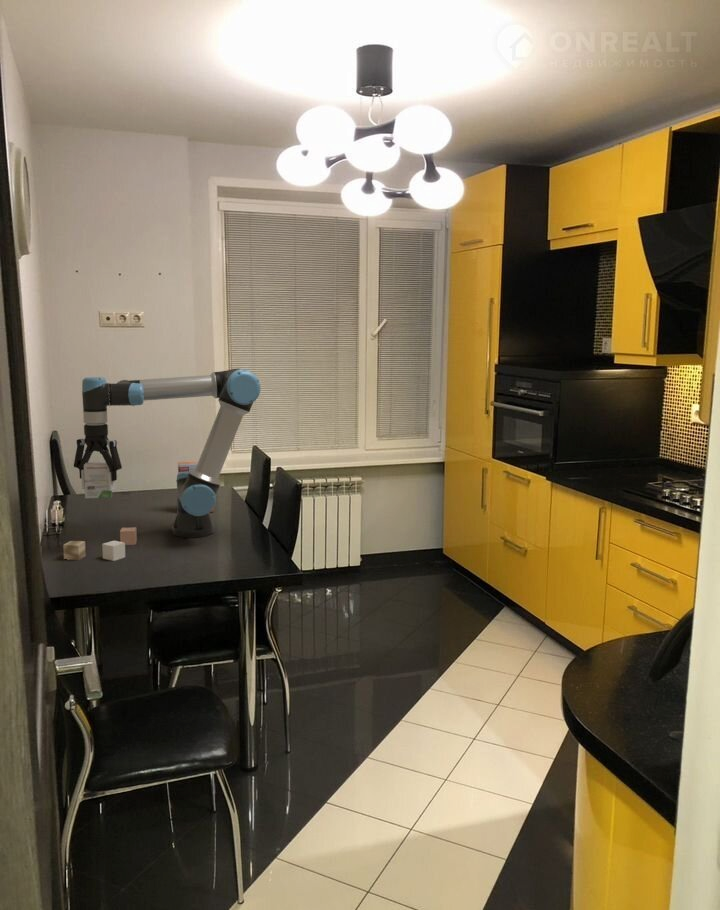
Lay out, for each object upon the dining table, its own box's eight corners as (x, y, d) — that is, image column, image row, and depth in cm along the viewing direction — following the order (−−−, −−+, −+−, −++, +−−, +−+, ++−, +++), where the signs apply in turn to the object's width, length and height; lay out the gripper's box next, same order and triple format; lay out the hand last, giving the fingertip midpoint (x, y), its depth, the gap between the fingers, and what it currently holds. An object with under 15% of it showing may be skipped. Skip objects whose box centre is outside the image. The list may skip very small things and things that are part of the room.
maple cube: (85, 556, 244) (85, 541, 243) (78, 560, 239) (78, 545, 238) (70, 555, 244) (70, 540, 244) (63, 559, 239) (63, 545, 239)
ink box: (112, 494, 253) (111, 461, 251) (111, 497, 249) (110, 463, 247) (86, 495, 251) (84, 461, 249) (84, 498, 246) (83, 464, 244)
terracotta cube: (136, 540, 263) (136, 527, 262) (135, 544, 258) (134, 531, 257) (122, 541, 262) (121, 527, 261) (120, 545, 257) (120, 531, 256)
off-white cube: (125, 557, 244) (124, 542, 243) (113, 561, 239) (113, 546, 239) (114, 554, 246) (114, 540, 245) (102, 558, 242) (102, 543, 241)
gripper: (131, 423, 247) (133, 489, 250) (73, 421, 252) (76, 484, 256) (119, 426, 240) (121, 493, 243) (59, 423, 245) (63, 489, 248)
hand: (98, 489), depth 249 cm, fingers closed on ink box, 9 cm apart
